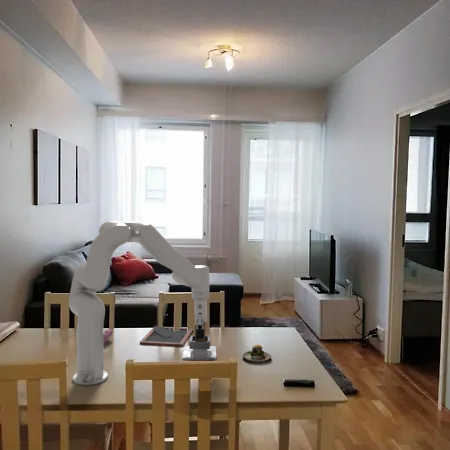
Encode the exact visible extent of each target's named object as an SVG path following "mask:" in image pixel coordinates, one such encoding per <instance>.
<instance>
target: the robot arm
mask: <svg viewBox="0 0 450 450" xmlns="http://www.w3.org/2000/svg"><path fill="white" fill-rule="evenodd" d="M126 243H137V244H139V245H140V246H141V247H142V248H143V249H144V250H145V251H146V252H147V253H148V254H149V255H150V256H151V257H152V258H153V259H154V260H155V261H156V262H157V263H159V264H160V265H162V266H164V267H166V268H167V269H170V270H171V271H172V275H171V276H172V279H173V280H174V282H175V283H177V284H180V285H182V286H185V287H188V288H191V299H192V300H194V301H193V302H194V306H193V307H194V308H193V309H194V320H195V321H194V323H195V322H196V323H197V329H196V338H197V339H203V338H204V329H203V322H205V324H206V323H207V321H208V299H210V267H209V266H207V265H204V264H203V265H202V264H201V265H200V264H198V265H194V264H193V263H192V262H191V261H190V259H188V258H187V257H186V256H185V255H183V254H182V253H181V252H180V251H179V250H177V249H176V248H175V247H173V246H172V245H171V244H170V242H169V241H168V240H167V239H166V238H165V237H164V236H163V235H162V234H161V232H159V231H158V229H156V228H155V227H154V226H153V225H152V224H151V223H148V222H144V221H143V222H142V221H118V220H117V221H116V220H114V221H113V220H110V221H109V220H108V221H105V222H103V223H102V224H101V226H100V227H99V229H98V235H96V237H95V238H94V239H93V241H92V243H91V244H90V247H89V250H88V253H87V258H86V261H85V262H83V263H81V264H79V266H77V268H76V269H75V271H74V273H73V277H72V281H71V286H70V292H69V293H70V294H69V298H68V306H69V309H70V311H71V312H72V313H73V314H75V315H76V316H77V323H76V331H75V332H76V337H75V339H76V373H75V374H73V376H72V381H73V383H75V384H77V385H80V386H93V385H97V384H100V383H104V381H106V380H107V379H108V377H109V373H108V372H107V371H105V370H104V366H105V365H104V343H103V334H104V323H105V314H106V307H105V304H104V302H103V299H101V298H100V297H99V296H98V295H96V294H95V293H96V292H100V291H103V289H104V288H105V287H106V285H107V283H108V277H109V272H110V271H109V270H110V266H111V261H112V257H113V255H114V253H115V251H116V250H117V249H119V247H121V246H122V245H125V244H126ZM201 323H202V324H201Z"/></svg>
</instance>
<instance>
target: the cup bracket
mask: <svg viewBox="0 0 450 450" xmlns="http://www.w3.org/2000/svg"><path fill="white" fill-rule="evenodd" d="M182 360H183V361H185V360H186V361H187V360H189V361H190V360H194V361H195V360H196V361H197V360H199V361H200V360H207V361H208V360H212V361H213V360H215V361H216V360H217V345H211V335H206V334H205V341H195V334H194V335H192V334H191V335H190V337H189V345H184V346H183V353H182Z"/></svg>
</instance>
